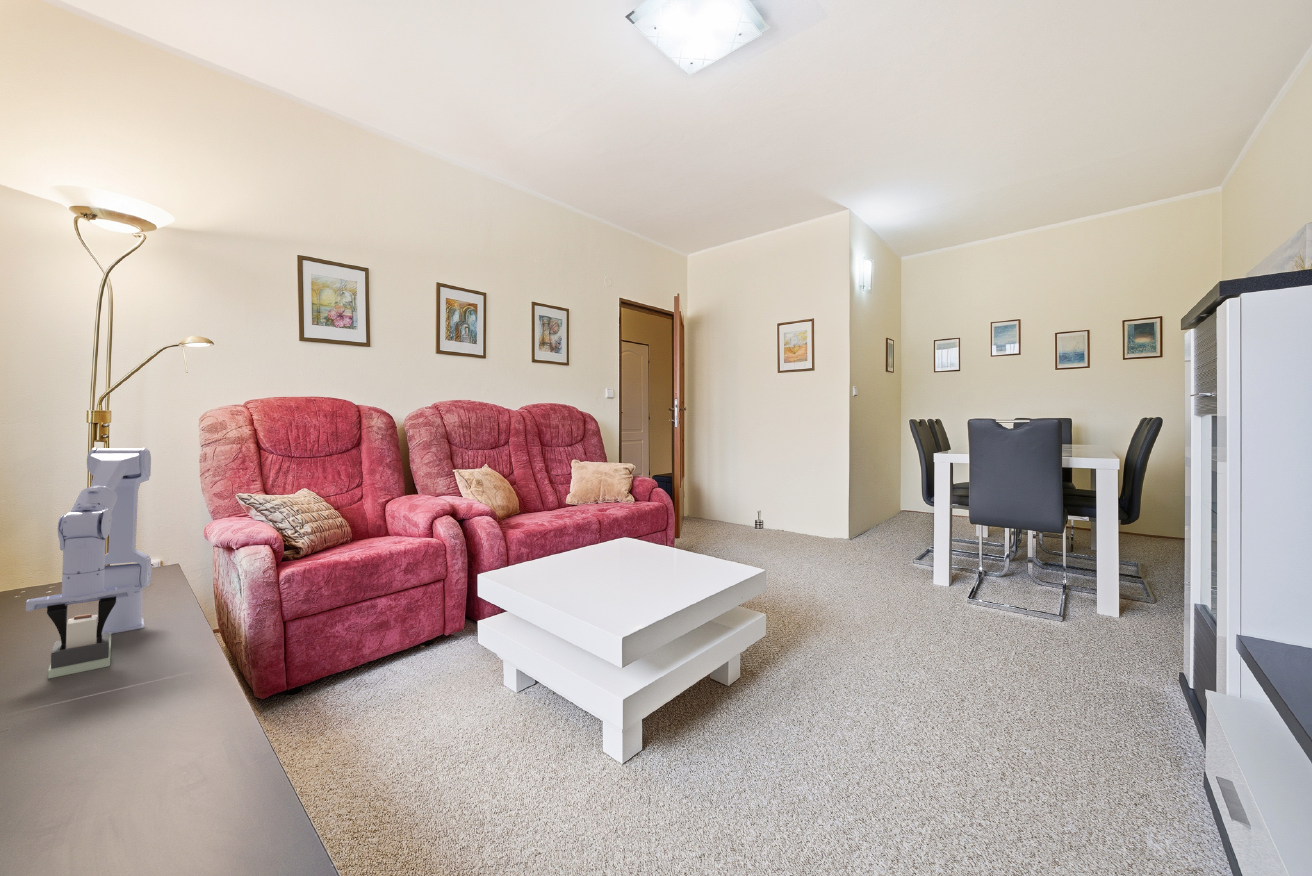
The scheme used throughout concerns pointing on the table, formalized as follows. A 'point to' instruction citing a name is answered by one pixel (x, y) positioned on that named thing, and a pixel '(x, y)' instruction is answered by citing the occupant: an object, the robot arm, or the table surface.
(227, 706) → the table surface
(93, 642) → the plug
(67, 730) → the table surface
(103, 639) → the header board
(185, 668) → the table surface
